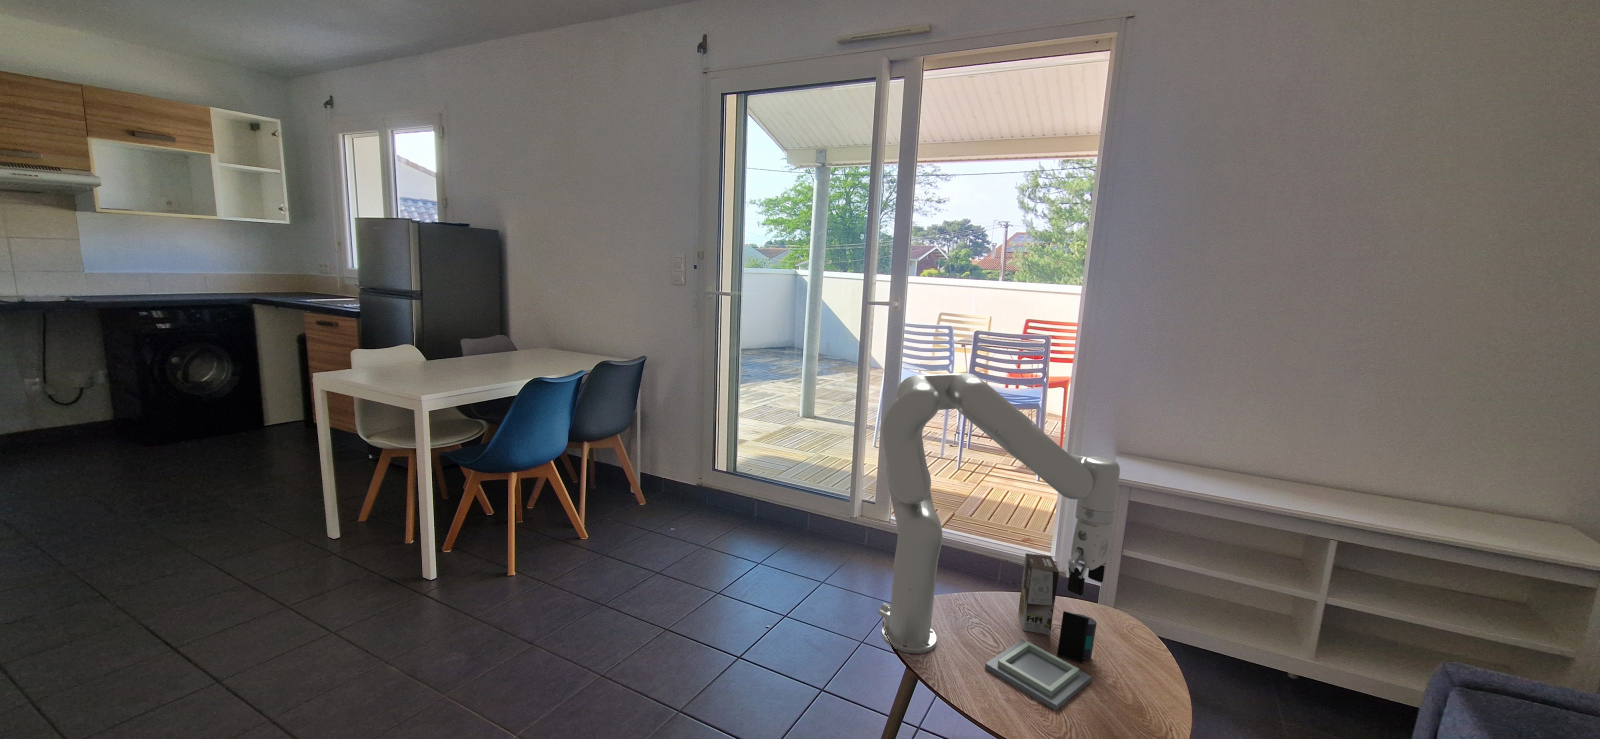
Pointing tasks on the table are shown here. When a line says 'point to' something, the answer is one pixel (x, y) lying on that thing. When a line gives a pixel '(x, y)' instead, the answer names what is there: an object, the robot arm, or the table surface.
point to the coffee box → (1038, 593)
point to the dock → (1039, 673)
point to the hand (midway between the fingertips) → (1085, 586)
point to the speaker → (1076, 637)
